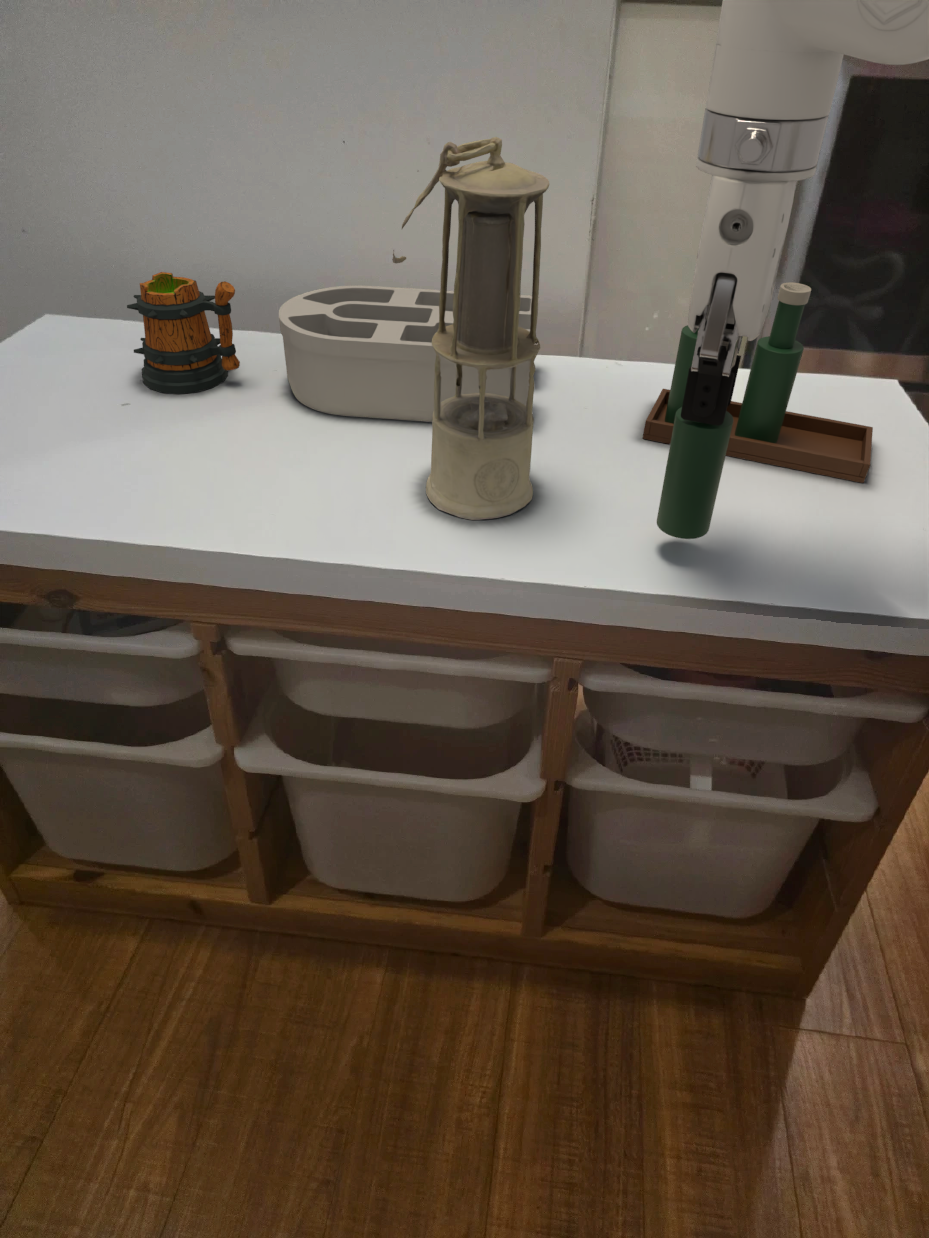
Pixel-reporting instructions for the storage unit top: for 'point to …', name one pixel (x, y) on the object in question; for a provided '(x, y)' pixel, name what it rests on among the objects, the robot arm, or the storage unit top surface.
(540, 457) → the storage unit top surface
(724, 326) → the robot arm
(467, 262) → the lamp
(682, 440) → the bottle
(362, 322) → the grey compartment organizer
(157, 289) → the mug
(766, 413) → the bottle mid
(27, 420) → the storage unit top surface
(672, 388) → the bottle end
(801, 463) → the tray
